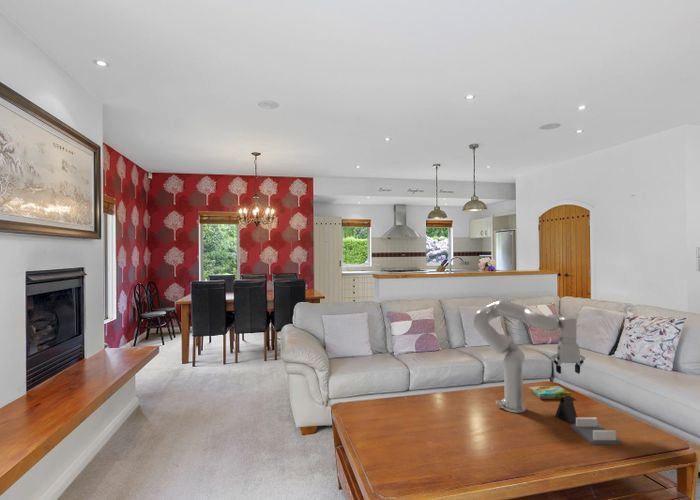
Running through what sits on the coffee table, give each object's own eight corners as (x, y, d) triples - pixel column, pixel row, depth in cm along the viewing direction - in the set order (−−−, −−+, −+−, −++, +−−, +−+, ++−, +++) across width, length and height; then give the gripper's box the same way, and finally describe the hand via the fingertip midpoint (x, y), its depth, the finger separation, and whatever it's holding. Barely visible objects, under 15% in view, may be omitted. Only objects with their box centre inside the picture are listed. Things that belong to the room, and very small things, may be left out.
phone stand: (555, 416, 201) (555, 394, 201) (563, 415, 203) (563, 393, 203) (569, 424, 193) (569, 401, 193) (578, 422, 195) (578, 399, 194)
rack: (591, 444, 173) (591, 432, 173) (570, 427, 189) (570, 416, 189) (621, 444, 173) (621, 432, 173) (598, 427, 189) (598, 416, 189)
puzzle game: (528, 385, 235) (559, 384, 236) (528, 393, 235) (559, 392, 236) (539, 392, 223) (571, 391, 225) (539, 400, 223) (571, 399, 225)
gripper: (555, 342, 194) (555, 375, 194) (589, 342, 193) (589, 375, 193) (547, 338, 201) (547, 370, 201) (580, 338, 201) (580, 370, 201)
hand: (568, 372), depth 197 cm, fingers open, 9 cm apart
